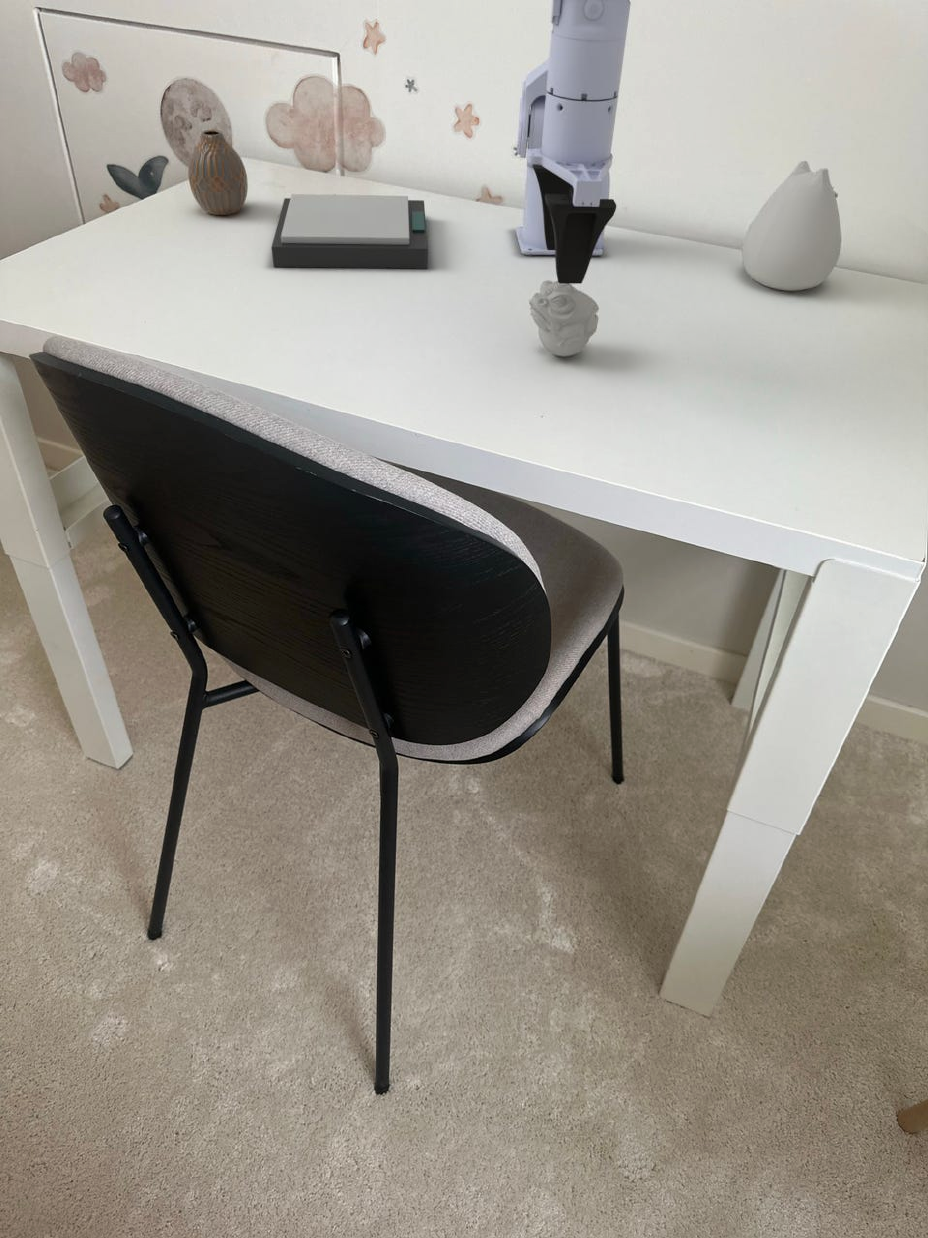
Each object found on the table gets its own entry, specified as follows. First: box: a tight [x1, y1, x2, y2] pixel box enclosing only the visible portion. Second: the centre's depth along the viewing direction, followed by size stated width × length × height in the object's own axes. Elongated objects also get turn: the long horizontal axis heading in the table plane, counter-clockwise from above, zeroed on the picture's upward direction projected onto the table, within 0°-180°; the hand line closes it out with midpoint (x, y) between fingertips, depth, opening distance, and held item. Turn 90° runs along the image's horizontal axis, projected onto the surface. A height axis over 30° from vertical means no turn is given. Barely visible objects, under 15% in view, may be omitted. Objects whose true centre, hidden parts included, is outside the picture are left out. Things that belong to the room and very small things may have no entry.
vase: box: [188, 129, 249, 216], centre depth 108 cm, size 7×7×9 cm
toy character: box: [741, 160, 842, 292], centre depth 96 cm, size 10×10×12 cm
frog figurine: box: [528, 279, 600, 357], centre depth 83 cm, size 6×7×7 cm
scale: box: [271, 193, 429, 270], centre depth 103 cm, size 17×16×3 cm
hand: (563, 264), depth 80 cm, fingers open, 7 cm apart
